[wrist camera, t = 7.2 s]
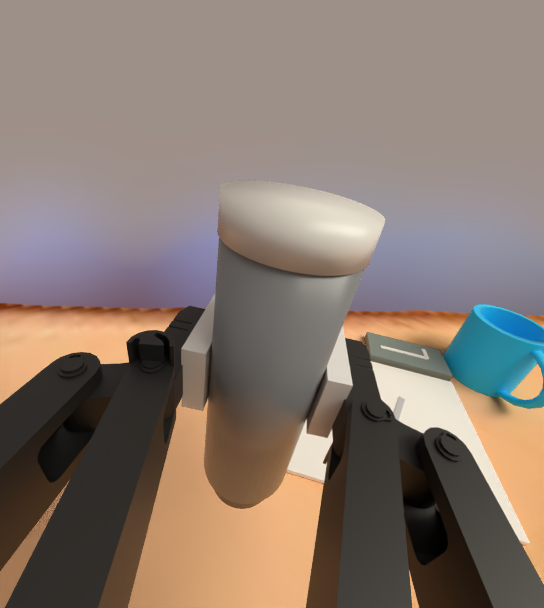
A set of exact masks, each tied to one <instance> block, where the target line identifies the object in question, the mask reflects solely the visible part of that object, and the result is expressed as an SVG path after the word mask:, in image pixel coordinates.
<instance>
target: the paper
mask: <svg viewBox="0 0 544 608" xmlns="http://www.w3.org/2000/svg"><path fill="white" fill-rule="evenodd" d="M371 363H372V367H373V370H374V374H375V378H376V382H377V386H378V389H379V393H380V397H381V400H382V401H383V402H385V403H386V404H387V405H388V406H389V407H390V409H391V410H392V411H393V413H394V416H395V418H396V419H397V420H398V421H400V422H402V423H403V424H405V425H407V426H409V427H411V428H413V429H415V430H417V431H419V432H421V433H424V432H425V431H426V430H427V429H429V428H430V427H438V428H441V429H444V430H447V431H449V432H450V433H452V434H454V435H455V436H457V437H458V438H459V439H460V440H461V441H462V442H463V443H464V444H465V445H466V446H467V448H468V449H469V451H470V452H471V454H472V455H473V457H474V459H475V461H476V463H477V464H478V466H479V468H480V470H481V472H482V474H483V475H484V477H485V479H486V481H487V483H488V484H489V486H490V488H491V490H492V492H493V494H494V495H495V497H496V499H497V501H498V503H499V504H500V506H501V508H502V510H503V512H504V514H505V515H506V517H507V519H508V521H509V523H510V524H511V526H512V528H513V530H514V532H515V534H516V535H517V537H518V539H519V541H520V543H521V544H523V545H526V546H527V545H529V544H530V542H529V540H528V538H527V536H526V534H525V532H524V530H523V528H522V526H521V524H520V522H519V520H518V518H517V515H516V513H515V511H514V509H513V507H512V505H511V503H510V501H509V499H508V497H507V495H506V493H505V491H504V489H503V487H502V485H501V482H500V480H499V478H498V476H497V474H496V472H495V470H494V468H493V466H492V464H491V462H490V460H489V458H488V456H487V454H486V452H485V449H484V447H483V445H482V443H481V441H480V439H479V437H478V435H477V433H476V431H475V429H474V427H473V425H472V423H471V421H470V419H469V416H468V414H467V412H466V410H465V408H464V406H463V404H462V402H461V400H460V398H459V396H458V394H457V392H456V390H455V388H454V386H453V383H452V382H450V381H446V380H442V379H438V378H434V377H430V376H426V375H422V374H419V373H415V372H411V371H407V370H403V369H399V368H395V367H391V366H388V365H384V364H380V363H376V362H372V361H371ZM306 429H307V419H306V421H305V424H304V427H303V429H302V432H301V434H300V437H299V440H298V442H297V445H296V447H295V450H294V453H293V455H292V458H291V460H290V463H289V465H288V468H287V473H291V474H294V475H297V476H301V477H304V478H307V479H310V480H314V481H317V482H320V483H323V484H324V480H325V473H326V466H327V463H326V464H323V461H324V458H325V456H326V454H327V452H328V450H329V448H330V446H331V444H332V442H333V435H332V430H331V432H330V434H329V436H328V438H325V437H320V436H316V435H311V434H307V433H306Z"/></svg>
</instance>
